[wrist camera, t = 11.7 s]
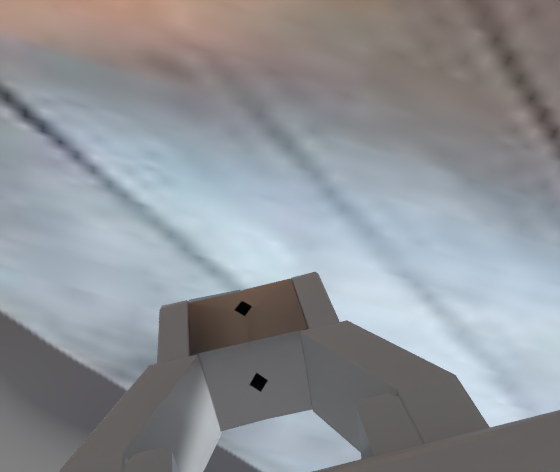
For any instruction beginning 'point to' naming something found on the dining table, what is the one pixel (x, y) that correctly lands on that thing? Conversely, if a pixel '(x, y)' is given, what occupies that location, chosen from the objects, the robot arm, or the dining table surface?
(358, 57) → the dining table surface
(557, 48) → the dining table surface
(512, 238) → the dining table surface
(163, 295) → the dining table surface
